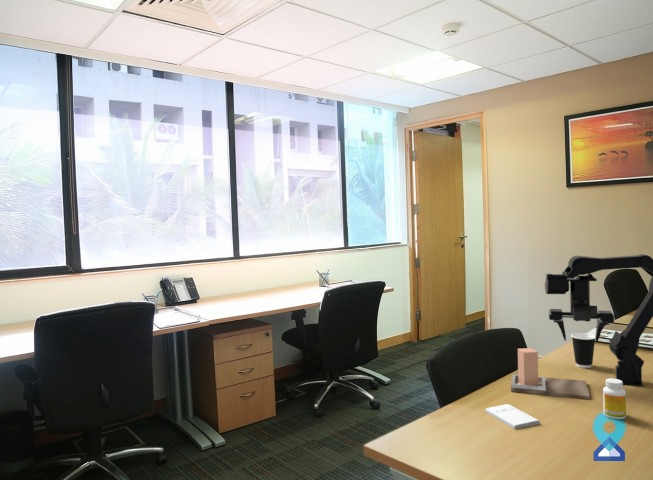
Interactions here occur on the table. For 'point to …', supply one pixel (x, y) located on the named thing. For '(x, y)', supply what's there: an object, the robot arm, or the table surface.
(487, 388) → the table surface
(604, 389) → the supplement bottle
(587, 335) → the dixie cup
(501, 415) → the external hard drive
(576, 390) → the board
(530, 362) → the terracotta pin
